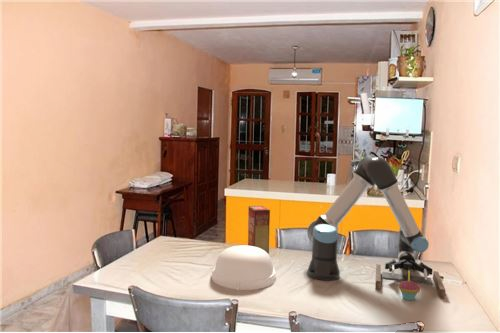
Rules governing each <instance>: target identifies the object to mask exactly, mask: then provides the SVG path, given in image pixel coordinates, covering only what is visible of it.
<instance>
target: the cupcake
mask: <svg viewBox="0 0 500 333" xmlns="http://www.w3.org/2000/svg"><path fill="white" fill-rule="evenodd" d="M410 273H411V270H407V275H408V281H400V283H399V284H398V290H399V291H400V293H401V296H402V298H403V299H404V300H407V301H413V300H415V299H416V297H417V294H418V293H420V292H421V287H420V285H419V283H415V282H413V281H410Z"/></svg>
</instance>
